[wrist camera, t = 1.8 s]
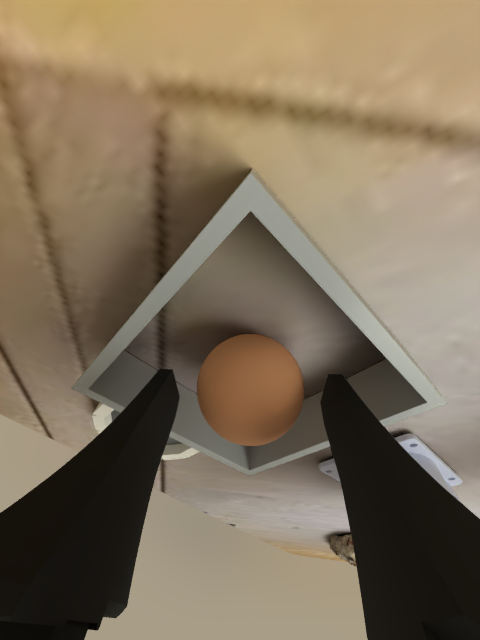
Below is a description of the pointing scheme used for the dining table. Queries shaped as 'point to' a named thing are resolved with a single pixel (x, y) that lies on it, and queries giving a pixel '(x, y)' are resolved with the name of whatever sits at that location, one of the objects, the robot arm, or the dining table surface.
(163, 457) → the ring
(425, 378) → the low pen
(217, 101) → the dining table surface
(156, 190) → the dining table surface
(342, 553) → the mineral rock
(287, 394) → the orange ball
